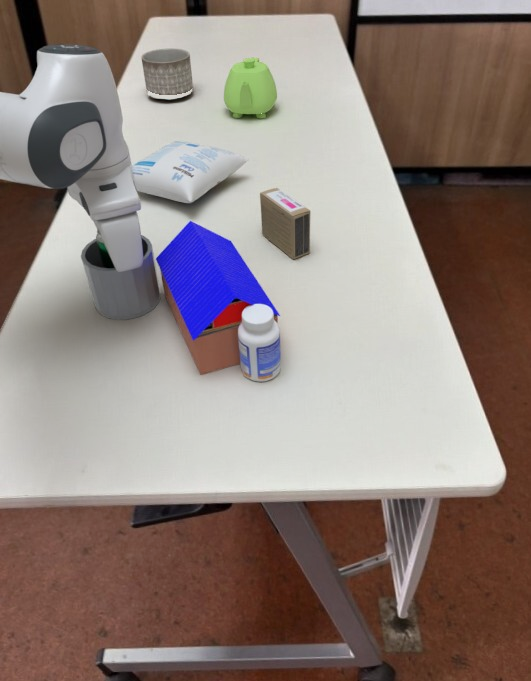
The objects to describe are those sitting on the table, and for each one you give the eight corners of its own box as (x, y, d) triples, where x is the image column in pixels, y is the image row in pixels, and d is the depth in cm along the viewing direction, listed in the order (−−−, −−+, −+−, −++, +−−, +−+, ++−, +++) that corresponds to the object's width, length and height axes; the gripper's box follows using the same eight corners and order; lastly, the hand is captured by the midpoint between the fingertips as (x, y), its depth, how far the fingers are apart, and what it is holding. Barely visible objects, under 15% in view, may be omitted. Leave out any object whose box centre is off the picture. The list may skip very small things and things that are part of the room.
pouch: (173, 125, 122) (108, 157, 109) (249, 145, 114) (189, 182, 101) (176, 160, 127) (114, 195, 114) (249, 182, 120) (192, 222, 107)
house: (198, 377, 76) (188, 309, 69) (162, 293, 90) (150, 229, 83) (281, 353, 80) (280, 285, 72) (233, 275, 93) (228, 212, 86)
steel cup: (103, 327, 85) (89, 277, 79) (88, 290, 92) (74, 242, 86) (169, 308, 88) (160, 259, 82) (150, 273, 95) (141, 226, 89)
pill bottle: (285, 358, 79) (284, 303, 72) (274, 386, 75) (273, 330, 68) (247, 352, 80) (243, 296, 73) (235, 379, 76) (230, 323, 70)
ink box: (310, 254, 98) (312, 210, 92) (292, 261, 96) (292, 217, 91) (278, 228, 104) (277, 185, 99) (260, 234, 103) (259, 191, 97)
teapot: (271, 127, 139) (271, 73, 131) (217, 126, 141) (213, 72, 132) (281, 98, 154) (281, 48, 145) (232, 97, 155) (229, 47, 147)
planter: (198, 88, 161) (194, 48, 154) (187, 104, 152) (183, 63, 145) (154, 87, 163) (149, 48, 156) (141, 103, 153) (135, 62, 147)
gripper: (61, 152, 82) (84, 235, 91) (92, 216, 68) (115, 307, 77) (105, 143, 84) (122, 226, 93) (143, 204, 70) (160, 294, 79)
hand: (119, 263), depth 85 cm, fingers closed on soda can, 5 cm apart
